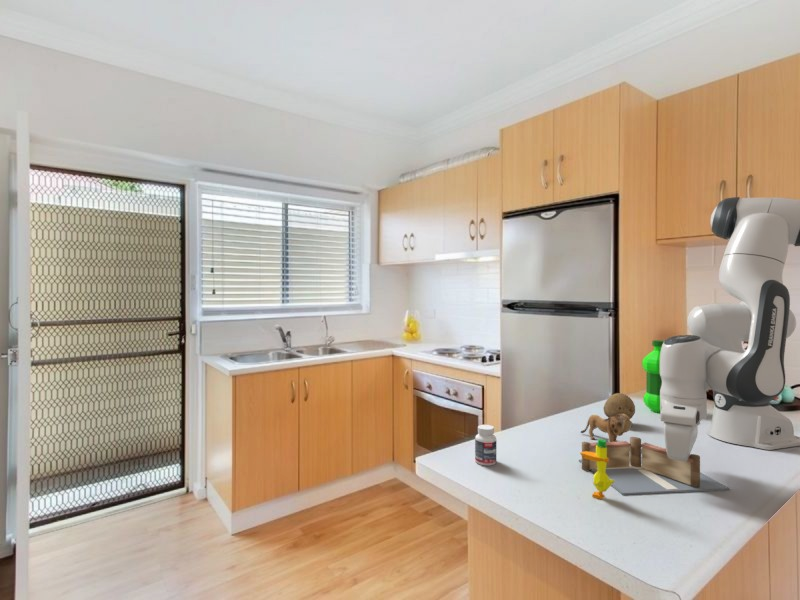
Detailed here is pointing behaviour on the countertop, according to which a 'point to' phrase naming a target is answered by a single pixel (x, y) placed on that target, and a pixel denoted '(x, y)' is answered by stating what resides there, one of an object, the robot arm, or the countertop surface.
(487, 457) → the pill bottle
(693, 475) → the fence panel
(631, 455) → the fence section
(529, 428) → the countertop surface
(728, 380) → the robot arm
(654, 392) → the plastic bottle
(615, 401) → the natural sponge
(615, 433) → the lion figurine
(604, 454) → the toy figure
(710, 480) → the board
